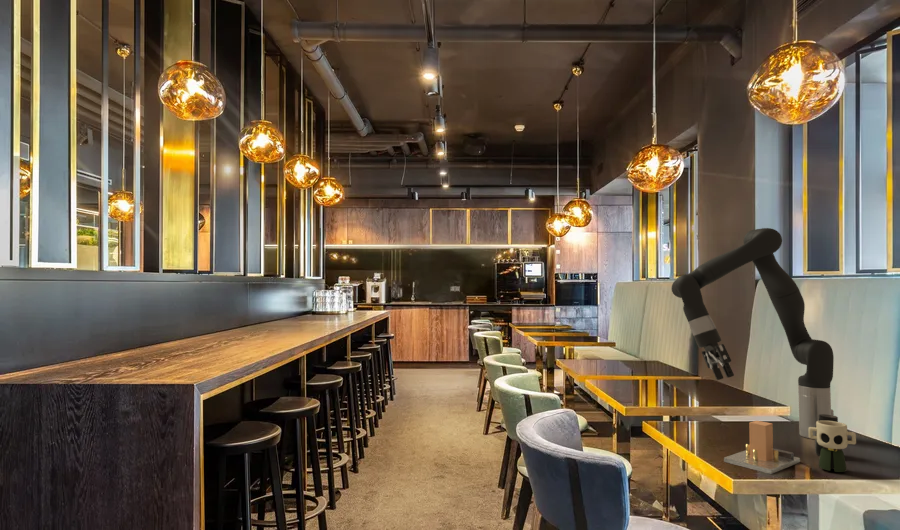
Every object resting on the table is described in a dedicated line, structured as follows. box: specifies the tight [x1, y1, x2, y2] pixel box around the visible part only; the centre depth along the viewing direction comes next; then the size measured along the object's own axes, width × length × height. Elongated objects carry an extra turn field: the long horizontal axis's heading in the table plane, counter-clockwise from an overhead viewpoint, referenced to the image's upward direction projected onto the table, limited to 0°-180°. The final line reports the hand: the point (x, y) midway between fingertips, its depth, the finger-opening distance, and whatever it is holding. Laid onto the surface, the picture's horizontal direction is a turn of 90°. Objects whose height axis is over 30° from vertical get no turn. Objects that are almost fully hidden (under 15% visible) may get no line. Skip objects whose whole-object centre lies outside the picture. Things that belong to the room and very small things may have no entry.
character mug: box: [808, 421, 857, 473], centre depth 153 cm, size 11×7×13 cm, turn 54°
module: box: [748, 420, 774, 461], centre depth 160 cm, size 4×4×10 cm
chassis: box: [723, 443, 801, 475], centre depth 160 cm, size 18×13×4 cm
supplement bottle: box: [814, 414, 843, 457], centre depth 166 cm, size 7×7×12 cm
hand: (725, 378), depth 179 cm, fingers open, 8 cm apart
